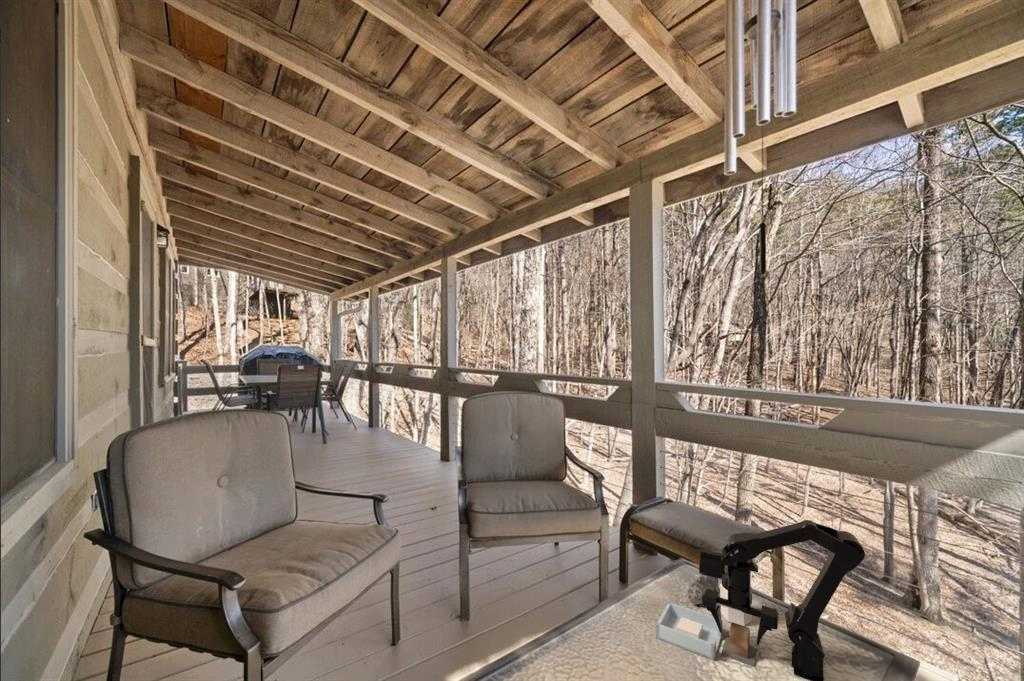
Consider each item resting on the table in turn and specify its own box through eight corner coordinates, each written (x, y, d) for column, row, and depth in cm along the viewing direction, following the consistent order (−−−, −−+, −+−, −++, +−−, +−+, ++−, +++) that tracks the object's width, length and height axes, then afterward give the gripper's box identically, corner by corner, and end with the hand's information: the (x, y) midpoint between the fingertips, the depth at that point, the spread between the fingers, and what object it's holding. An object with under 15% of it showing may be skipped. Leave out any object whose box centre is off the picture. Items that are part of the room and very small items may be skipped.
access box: (722, 633, 128) (722, 620, 128) (714, 660, 117) (714, 646, 117) (668, 614, 137) (668, 602, 137) (656, 638, 126) (656, 624, 126)
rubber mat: (757, 649, 121) (757, 648, 121) (754, 666, 115) (754, 665, 115) (725, 638, 126) (725, 637, 126) (721, 654, 119) (721, 653, 119)
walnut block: (749, 649, 121) (749, 627, 121) (747, 658, 117) (747, 636, 117) (731, 643, 123) (731, 622, 123) (729, 652, 120) (729, 630, 120)
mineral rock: (689, 608, 141) (689, 577, 141) (677, 590, 151) (677, 561, 151) (729, 609, 140) (729, 578, 140) (714, 590, 151) (714, 562, 151)
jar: (741, 629, 130) (741, 589, 130) (715, 615, 137) (715, 577, 137) (756, 619, 135) (756, 581, 135) (731, 606, 142) (731, 569, 142)
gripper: (779, 580, 122) (779, 635, 122) (708, 561, 133) (708, 611, 132) (777, 598, 113) (777, 658, 113) (701, 576, 123) (701, 631, 123)
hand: (739, 638), depth 120 cm, fingers open, 9 cm apart
